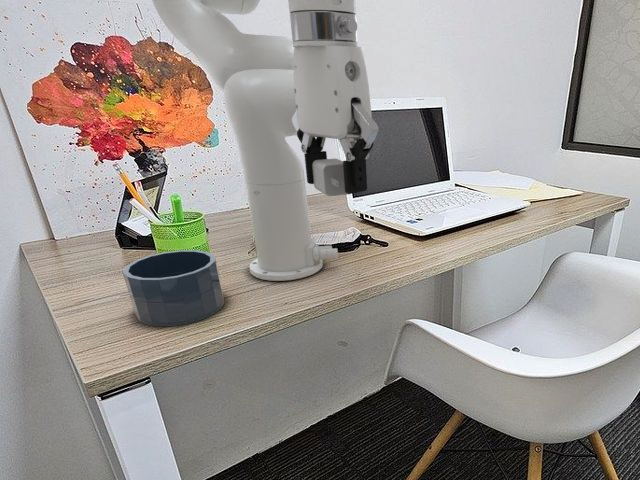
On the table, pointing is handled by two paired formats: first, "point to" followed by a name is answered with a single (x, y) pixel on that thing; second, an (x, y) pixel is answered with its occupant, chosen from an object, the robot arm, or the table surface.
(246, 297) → the table surface
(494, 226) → the table surface
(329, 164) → the usb wall charger
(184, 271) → the pot
